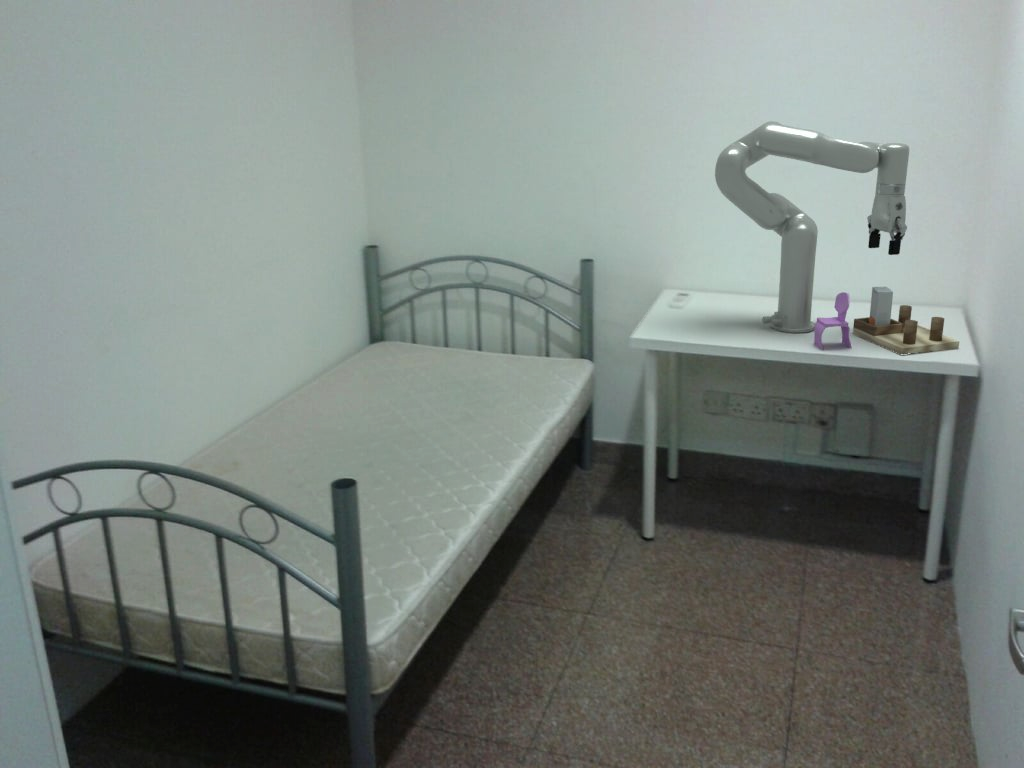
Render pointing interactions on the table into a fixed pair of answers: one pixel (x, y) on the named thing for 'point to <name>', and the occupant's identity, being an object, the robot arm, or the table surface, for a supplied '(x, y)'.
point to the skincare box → (881, 306)
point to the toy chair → (835, 321)
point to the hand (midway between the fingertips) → (883, 251)
